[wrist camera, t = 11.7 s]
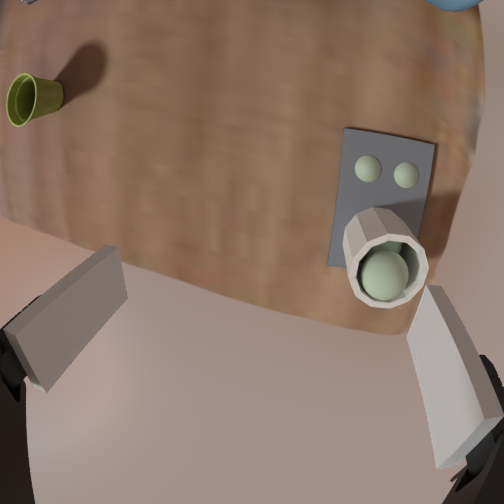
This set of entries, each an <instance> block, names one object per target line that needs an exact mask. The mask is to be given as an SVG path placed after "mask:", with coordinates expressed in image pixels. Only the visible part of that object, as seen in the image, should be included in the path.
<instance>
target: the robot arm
mask: <svg viewBox="0 0 504 504" xmlns="http://www.w3.org/2000/svg"><path fill="white" fill-rule="evenodd" d="M425 1H427V2H429V3H431V4H432V5H434V6H436V7H437V8H439V9H442V10H444V11H452V12H459V11H463V10H466V9H469V8H471V7H473V6H475V5H477V4H478V3H480V2H481V1H483V0H425ZM127 299H128V297H127V291H126V286H125V281H124V276H123V270H122V264H121V258H120V251H119V247H117V246H110V245H105V246H104V247H102V248H101V249H100V250H98V251H97V252H96V253H94V254H93V255H92V256H90V257H89V258H88V259H86V260H85V261H84V262H82V263H81V264H80V265H78V266H77V267H76V268H75V269H73V270H72V271H71V272H70V273H68V274H67V275H66V276H64V277H63V278H62V279H61V280H59V281H58V282H57V283H56V284H55V285H53V286H52V287H51V288H50V289H49V290H47V291H46V292H45V293H44V294H42V295H40V296H38V297H36V298H35V299H34V300H33V301H32V302H30V303H29V304H28V306H26V307H25V308H23V310H22V312H19V313H18V314H17V315H15V316H14V317H13V318H12V319H11V320H10V321H9V322H8V323H6V324H5V325H4V326H3V327H2V328H1V329H0V504H35V500H34V494H33V488H32V482H31V475H30V467H29V457H28V448H27V447H28V446H27V430H26V384H25V382H24V380H23V379H24V378H25V377H26V376H28V378H29V379H30V381H31V383H32V384H33V386H34V387H36V388H38V389H39V390H41V391H43V392H45V393H47V392H48V391H49V390H50V388H51V387H52V386H53V385H54V383H55V382H56V381H57V380H58V379H59V377H60V376H61V375H62V374H63V372H64V371H65V370H66V369H67V368H68V366H69V365H70V364H71V363H72V362H73V360H74V359H75V358H76V357H77V356H78V354H79V353H80V352H81V351H82V350H83V349H84V347H85V346H86V345H87V344H88V342H89V341H90V340H91V339H92V338H93V337H94V335H96V333H97V332H98V331H99V330H100V329H101V327H103V325H104V324H105V323H106V322H107V321H108V320H109V319H110V317H111V316H112V315H113V314H114V313H115V312H116V311H117V310H118V309H119V307H120V306H121V305H122V304H123V303H124V302H125V301H126V300H127ZM406 338H407V341H408V344H409V348H410V351H411V355H412V358H413V361H414V365H415V369H416V373H417V377H418V380H419V384H420V388H421V392H422V397H423V401H424V405H425V410H426V414H427V419H428V424H429V429H430V434H431V440H432V445H433V451H434V457H435V463H436V469H440V468H446V467H453V466H456V465H457V464H458V463H459V462H460V461H461V460H463V459H464V458H465V457H466V461H467V465H466V466H465V467H464V468H463V469H462V470H461V471H459V472H458V473H457V474H456V475H455V476H453V478H452V479H451V480H450V481H451V482H453V481H454V480H455V479H456V478H457V480H456V482H455V484H454V485H453V487H452V489H451V490H450V492H449V494H448V495H447V497H446V498H445V500H444V502H443V503H442V504H504V387H503V386H502V382H501V380H500V378H498V374H497V372H496V370H495V367H494V365H493V364H492V363H491V362H490V361H489V359H488V358H487V357H486V356H485V355H478V352H477V350H476V349H475V347H474V344H473V342H472V340H471V339H470V336H469V334H468V333H467V331H466V329H465V327H464V325H463V323H462V321H461V319H460V318H459V316H458V314H457V312H456V310H455V308H454V307H453V305H452V303H451V302H450V300H449V298H448V296H447V295H446V293H445V291H444V290H443V288H442V286H435V285H426V286H425V289H424V292H423V295H422V298H421V301H420V304H419V306H418V309H417V312H416V314H415V317H414V320H413V322H412V325H411V327H410V330H409V332H408V335H407V337H406Z"/></svg>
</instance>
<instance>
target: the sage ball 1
mask: <svg viewBox="0 0 504 504" xmlns="http://www.w3.org/2000/svg"><path fill="white" fill-rule="evenodd" d="M401 248H402V242H397V241H390V240H389V241H386V242H384V243H381V244H379V245H376V246H373V247H371V248H370V250H369V251H368V252H367V253H366V254H365V255H364V256H365V257H366V258H368V257H369V256H370V255H372V254H373V253H375V252H377V251H381V250H389V251H393V252H395V253H397V254H399V253H400V251H401Z"/></svg>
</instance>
